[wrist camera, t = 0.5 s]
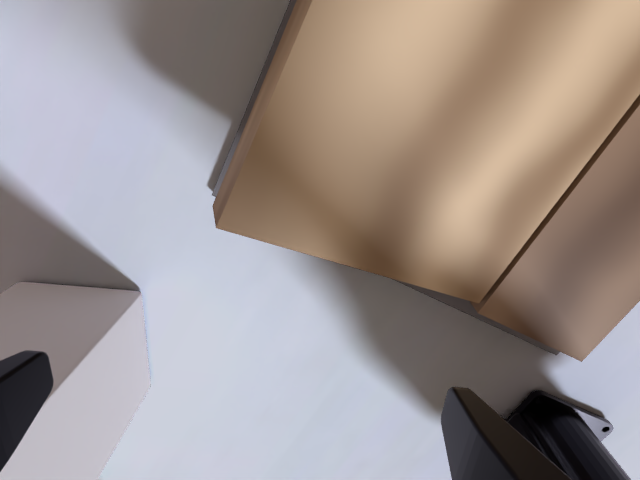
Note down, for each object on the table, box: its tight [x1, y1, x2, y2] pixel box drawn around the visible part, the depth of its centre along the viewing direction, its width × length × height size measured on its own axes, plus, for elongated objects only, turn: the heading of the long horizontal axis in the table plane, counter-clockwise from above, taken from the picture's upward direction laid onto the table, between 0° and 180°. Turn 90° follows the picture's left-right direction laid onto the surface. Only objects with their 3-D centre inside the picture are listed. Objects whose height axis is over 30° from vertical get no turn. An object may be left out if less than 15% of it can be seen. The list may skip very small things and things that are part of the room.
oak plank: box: [213, 0, 640, 303], centre depth 14 cm, size 14×17×2 cm
